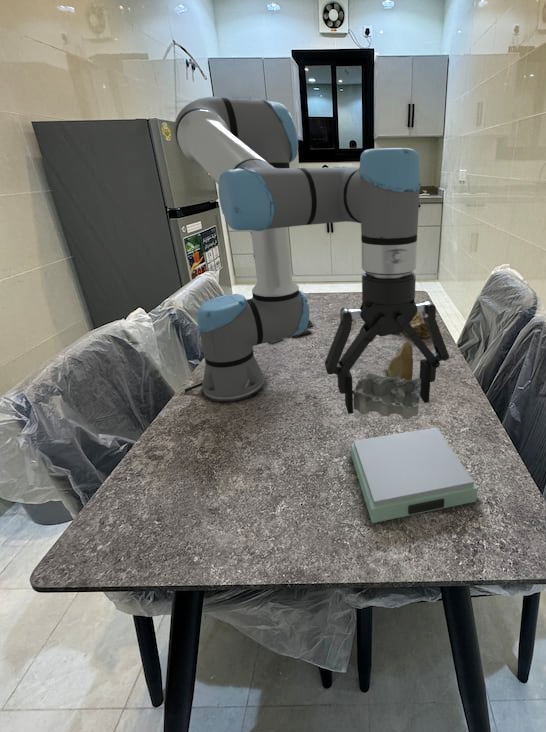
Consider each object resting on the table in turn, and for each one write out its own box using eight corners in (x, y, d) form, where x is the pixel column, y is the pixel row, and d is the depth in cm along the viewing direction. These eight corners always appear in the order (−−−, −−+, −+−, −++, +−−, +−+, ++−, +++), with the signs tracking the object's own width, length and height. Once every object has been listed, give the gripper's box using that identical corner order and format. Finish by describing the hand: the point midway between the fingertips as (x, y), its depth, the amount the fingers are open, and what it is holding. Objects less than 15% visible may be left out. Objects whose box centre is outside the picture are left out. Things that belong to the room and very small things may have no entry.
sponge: (436, 341, 126) (420, 309, 142) (435, 322, 122) (419, 291, 138) (397, 349, 126) (386, 317, 142) (394, 330, 122) (383, 299, 138)
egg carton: (349, 414, 60) (348, 391, 58) (361, 389, 67) (360, 368, 65) (417, 423, 57) (418, 400, 56) (422, 396, 64) (423, 375, 62)
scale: (372, 525, 60) (372, 506, 59) (351, 455, 75) (350, 439, 73) (477, 503, 64) (479, 485, 62) (437, 441, 78) (438, 425, 77)
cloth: (264, 319, 144) (262, 303, 141) (314, 317, 144) (313, 302, 142) (252, 344, 123) (250, 326, 121) (310, 342, 124) (309, 324, 121)
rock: (421, 386, 93) (427, 363, 101) (400, 361, 91) (408, 339, 99) (387, 401, 99) (395, 378, 107) (366, 378, 97) (377, 356, 105)
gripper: (303, 285, 48) (315, 428, 56) (481, 272, 52) (466, 406, 61) (299, 271, 54) (310, 400, 63) (457, 260, 59) (447, 382, 68)
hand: (387, 403), depth 62 cm, fingers closed on egg carton, 12 cm apart
